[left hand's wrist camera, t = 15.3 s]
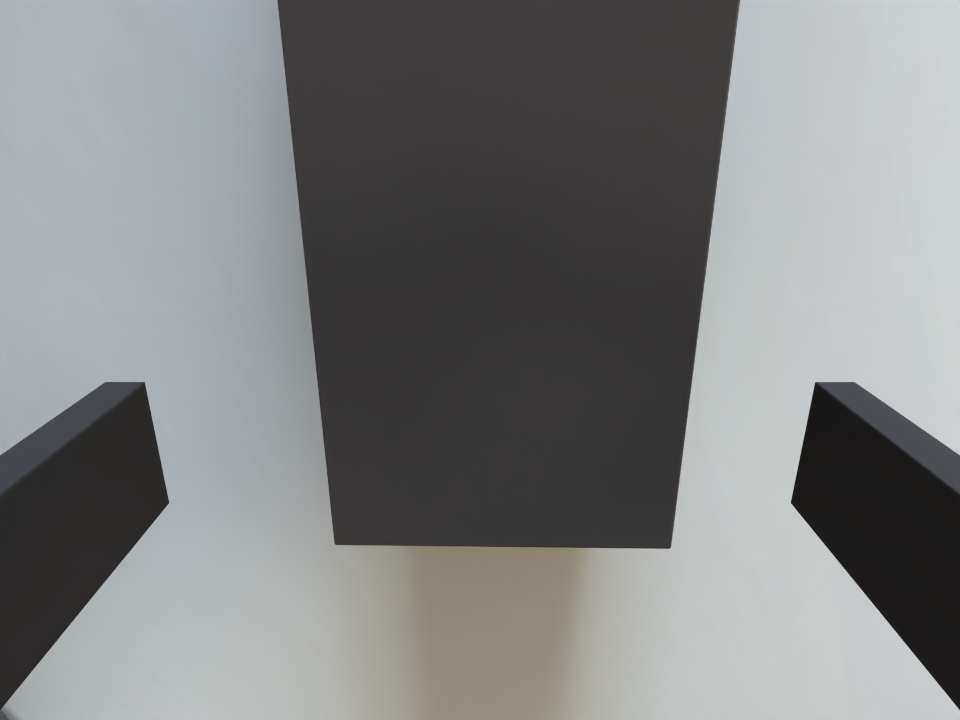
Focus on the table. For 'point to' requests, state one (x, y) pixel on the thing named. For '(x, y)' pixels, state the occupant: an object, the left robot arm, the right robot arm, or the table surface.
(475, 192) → the box
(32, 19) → the table surface
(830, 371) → the table surface
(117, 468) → the left robot arm
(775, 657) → the table surface
